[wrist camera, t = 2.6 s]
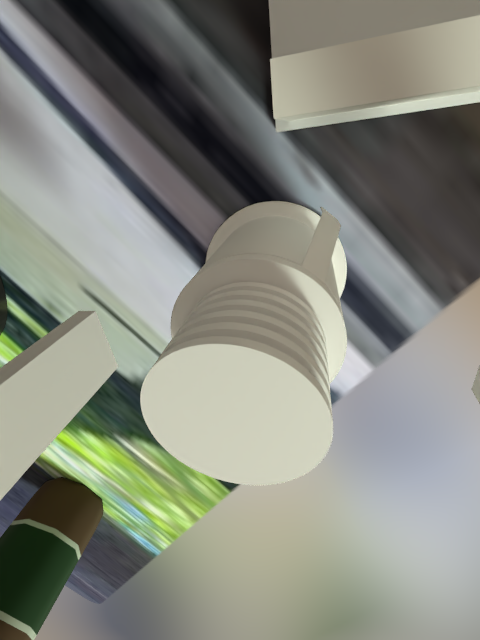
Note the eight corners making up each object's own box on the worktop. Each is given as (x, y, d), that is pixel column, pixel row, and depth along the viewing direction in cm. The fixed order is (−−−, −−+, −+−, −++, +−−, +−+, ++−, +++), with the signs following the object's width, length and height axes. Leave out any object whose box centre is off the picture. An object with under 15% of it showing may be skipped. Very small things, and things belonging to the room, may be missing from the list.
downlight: (279, 356, 18) (253, 542, 10) (180, 287, 17) (56, 428, 9) (386, 253, 14) (500, 419, 6) (266, 155, 13) (187, 178, 5)
